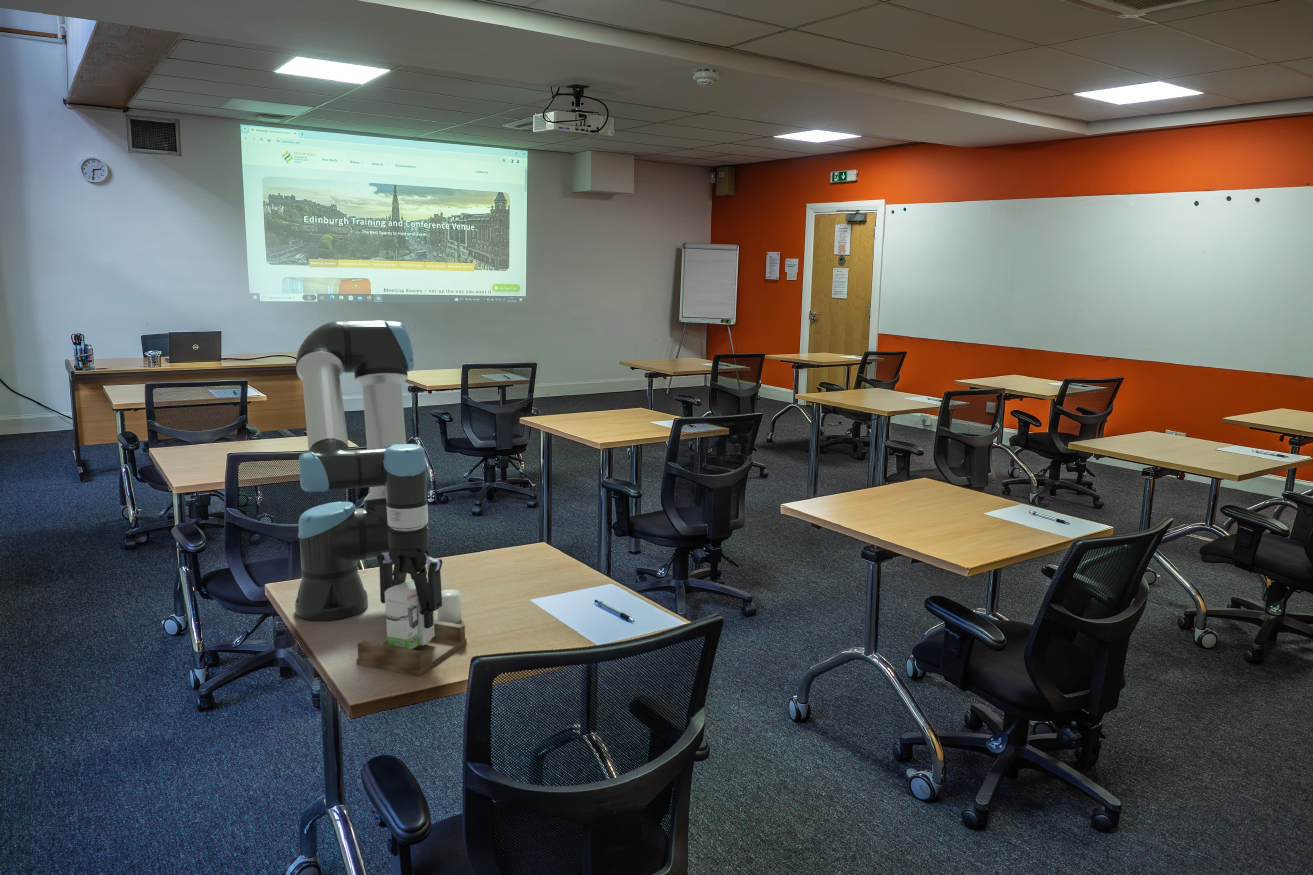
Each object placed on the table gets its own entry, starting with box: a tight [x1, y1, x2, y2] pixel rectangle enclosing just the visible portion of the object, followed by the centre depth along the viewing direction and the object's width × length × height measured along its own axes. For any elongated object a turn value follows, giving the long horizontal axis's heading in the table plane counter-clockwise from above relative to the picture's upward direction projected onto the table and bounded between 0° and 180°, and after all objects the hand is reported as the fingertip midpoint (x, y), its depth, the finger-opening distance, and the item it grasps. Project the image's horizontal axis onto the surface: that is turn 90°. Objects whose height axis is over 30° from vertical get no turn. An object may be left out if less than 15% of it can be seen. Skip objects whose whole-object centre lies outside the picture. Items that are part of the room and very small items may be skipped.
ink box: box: [384, 578, 435, 649], centre depth 163 cm, size 9×5×12 cm, turn 156°
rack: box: [356, 619, 468, 677], centre depth 165 cm, size 14×16×4 cm
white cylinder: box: [436, 589, 463, 624], centre depth 181 cm, size 5×5×6 cm
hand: (412, 639), depth 165 cm, fingers closed on ink box, 5 cm apart
